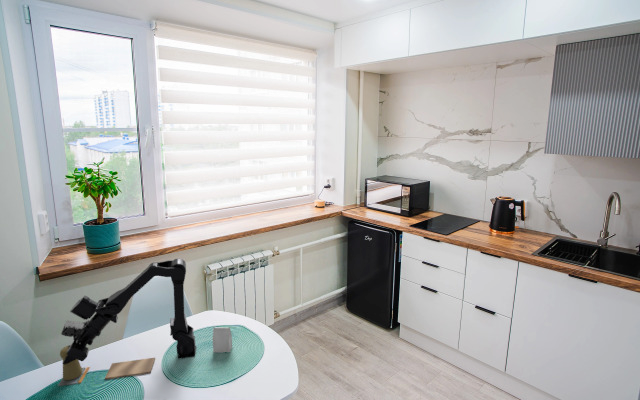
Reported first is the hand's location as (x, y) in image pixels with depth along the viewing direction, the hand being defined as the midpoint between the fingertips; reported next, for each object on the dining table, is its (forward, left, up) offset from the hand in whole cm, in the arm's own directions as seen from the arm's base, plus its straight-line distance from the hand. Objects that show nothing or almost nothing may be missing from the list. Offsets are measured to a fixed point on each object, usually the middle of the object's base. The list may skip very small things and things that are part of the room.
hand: (65, 359), depth 131 cm
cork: (-1, 0, -7) cm, 7 cm away
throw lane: (-13, 0, -8) cm, 15 cm away
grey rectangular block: (-55, -5, -8) cm, 55 cm away
